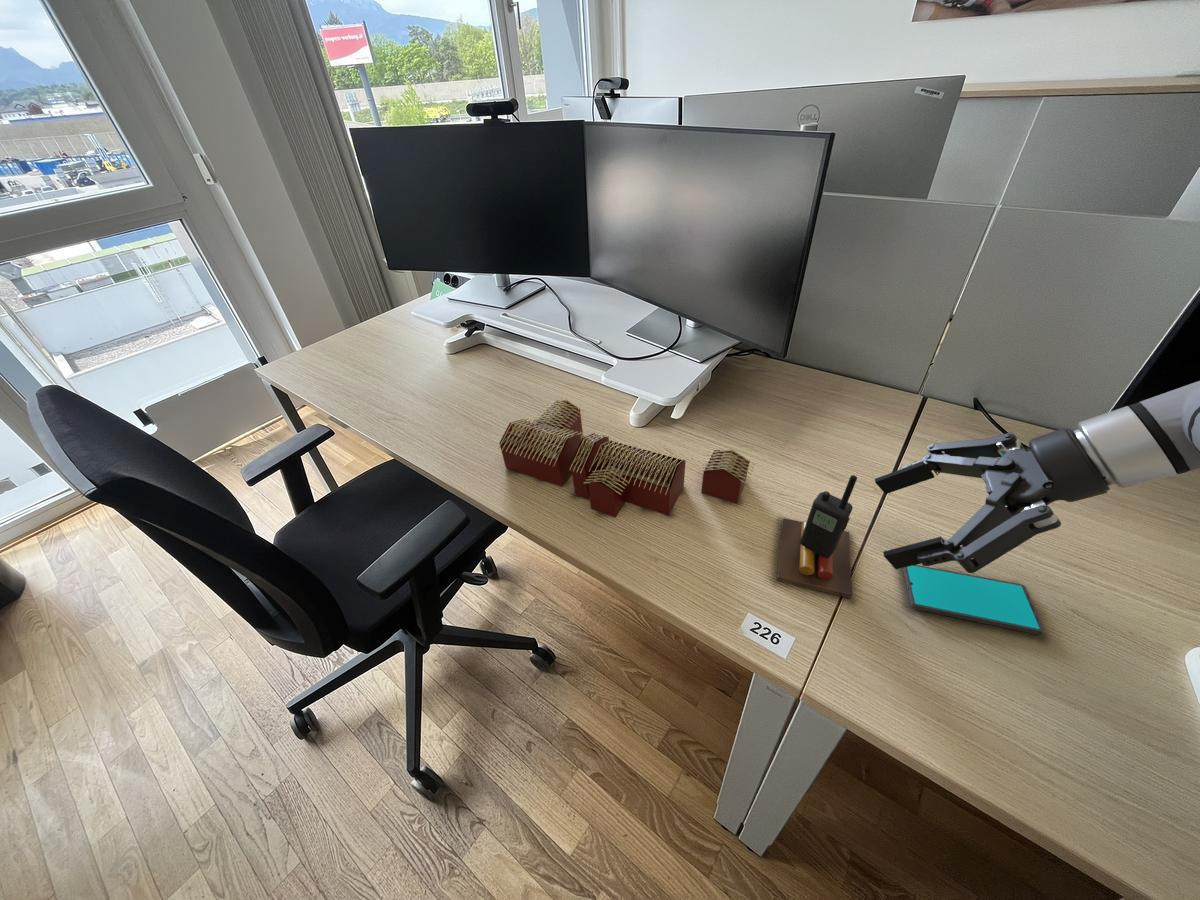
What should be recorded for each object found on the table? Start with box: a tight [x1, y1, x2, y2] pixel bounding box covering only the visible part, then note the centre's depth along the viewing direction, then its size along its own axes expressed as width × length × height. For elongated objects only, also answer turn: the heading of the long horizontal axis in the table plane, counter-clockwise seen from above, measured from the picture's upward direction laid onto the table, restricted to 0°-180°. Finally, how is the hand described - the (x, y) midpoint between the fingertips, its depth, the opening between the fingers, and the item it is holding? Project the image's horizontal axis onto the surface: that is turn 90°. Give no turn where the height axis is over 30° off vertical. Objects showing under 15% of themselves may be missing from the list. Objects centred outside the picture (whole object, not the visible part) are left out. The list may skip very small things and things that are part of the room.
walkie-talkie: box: [800, 474, 858, 558], centre depth 65 cm, size 5×3×15 cm
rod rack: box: [776, 517, 853, 600], centre depth 71 cm, size 10×12×3 cm
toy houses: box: [497, 398, 756, 518], centre depth 85 cm, size 45×20×10 cm, turn 63°
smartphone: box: [902, 564, 1045, 635], centre depth 64 cm, size 7×1×15 cm
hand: (884, 520), depth 62 cm, fingers open, 13 cm apart
